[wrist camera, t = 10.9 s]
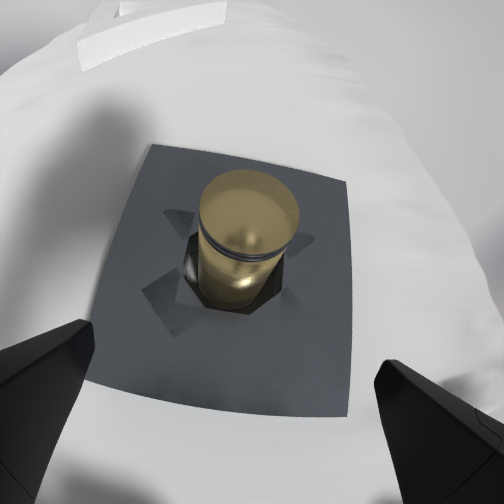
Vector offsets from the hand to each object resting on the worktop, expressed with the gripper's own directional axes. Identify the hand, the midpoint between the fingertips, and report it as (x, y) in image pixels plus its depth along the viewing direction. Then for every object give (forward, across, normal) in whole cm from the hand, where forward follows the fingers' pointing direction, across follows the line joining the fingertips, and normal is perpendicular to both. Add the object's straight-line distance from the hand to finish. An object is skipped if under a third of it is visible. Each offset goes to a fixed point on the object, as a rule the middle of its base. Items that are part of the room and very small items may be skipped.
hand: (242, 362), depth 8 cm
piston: (+15, 0, +4) cm, 16 cm away
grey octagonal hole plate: (+15, 0, +4) cm, 16 cm away
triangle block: (+44, +26, -25) cm, 57 cm away
